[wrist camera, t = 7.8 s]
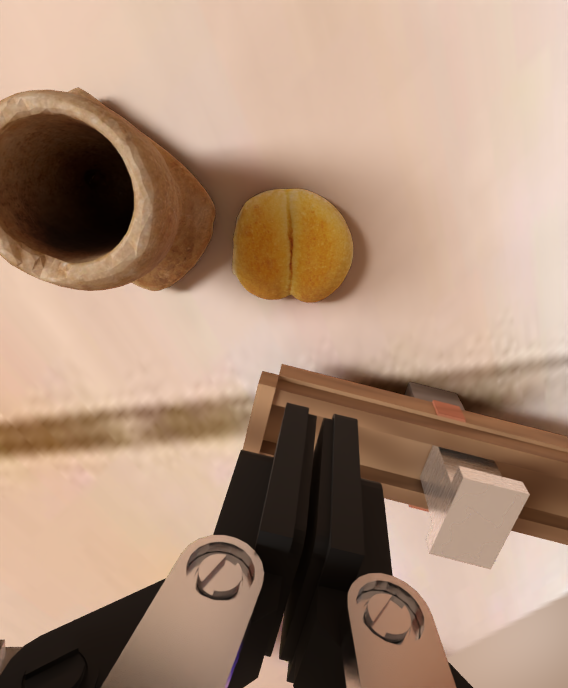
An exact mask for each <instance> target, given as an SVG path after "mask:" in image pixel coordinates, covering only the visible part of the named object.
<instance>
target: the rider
mask: <svg viewBox="0 0 568 688" xmlns="http://www.w3.org/2000/svg"><path fill="white" fill-rule="evenodd" d="M420 479H421V483H422V487H423V491H424V494H425V498H426V502H427V506H428V509H429V513H430V517H431V521H432V527H431V529H430V531H429V534H428V536H427V538H426V543H427V547H428V551H429V554H433V555H437V556H441V557H445V558H449V559H452V560H456V561H460V562H464V563H468V564H472V565H476V566H480V567H484V568H488V569H491V568H492V566H493V564H494V562H495V560H496V558H497V556H498V554H499V552H500V550H501V548H502V547H503V545H504V543H505V541H506V539H507V537H508V535H509V533H510V531H511V529H512V528H513V526H514V524H515V522H516V520H517V518H518V516H519V514H520V512H521V510H522V509H523V507H524V505H525V503H526V501H527V499H528V497H529V495H530V494H529V492H528V491H527V489H526V487H525V485H524V484H523V482H521V481H517V480H513V479H509V478H505V477H502V475H501V473H500V471H499V469H498V467H497V465H496V464H495V462H494V461H493V460H489V459H485V458H481V457H477V456H474V455H470V454H466V453H462V452H458V451H454V450H450V449H446V448H442V447H438V446H434V445H433V447H432V449H431V451H430V454H429V456H428V459H427V461H426V463H425V466H424V468H423V471H422V473H421V476H420Z"/></svg>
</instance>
